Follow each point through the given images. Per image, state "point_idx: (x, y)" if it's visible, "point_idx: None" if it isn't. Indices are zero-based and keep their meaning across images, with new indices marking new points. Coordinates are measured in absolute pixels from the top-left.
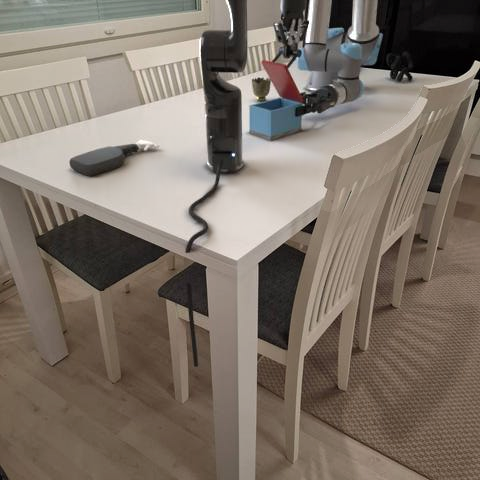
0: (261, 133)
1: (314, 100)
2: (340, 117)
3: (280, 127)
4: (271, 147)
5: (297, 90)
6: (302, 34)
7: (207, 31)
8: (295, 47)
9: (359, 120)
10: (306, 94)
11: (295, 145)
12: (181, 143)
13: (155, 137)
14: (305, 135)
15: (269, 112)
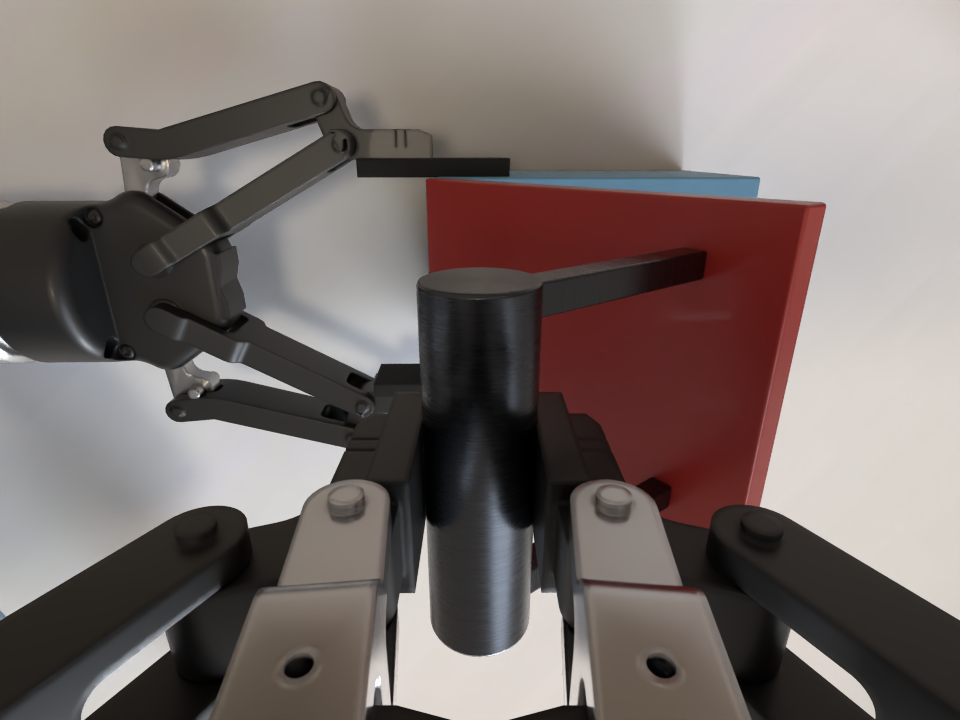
0: None
1: (224, 257)
2: (76, 173)
3: (626, 172)
4: (764, 84)
5: (507, 182)
6: (148, 607)
7: None
8: (413, 458)
9: (5, 36)
10: (222, 345)
11: (658, 4)
12: (953, 427)
13: (947, 546)
14: (487, 88)
15: (753, 194)
